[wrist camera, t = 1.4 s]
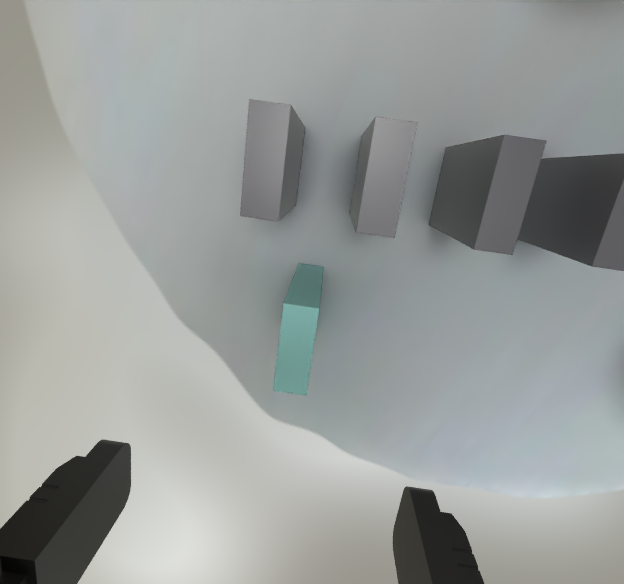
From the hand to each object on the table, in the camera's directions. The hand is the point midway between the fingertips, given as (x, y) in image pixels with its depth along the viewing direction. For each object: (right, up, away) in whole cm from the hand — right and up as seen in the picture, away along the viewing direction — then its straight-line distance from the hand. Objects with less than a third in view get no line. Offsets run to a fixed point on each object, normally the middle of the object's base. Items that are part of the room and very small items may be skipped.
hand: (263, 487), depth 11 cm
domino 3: (+5, +13, +15) cm, 20 cm away
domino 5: (+16, +12, +15) cm, 25 cm away
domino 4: (+11, +13, +15) cm, 22 cm away
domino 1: (0, +14, +15) cm, 20 cm away
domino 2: (+1, +5, +17) cm, 18 cm away
